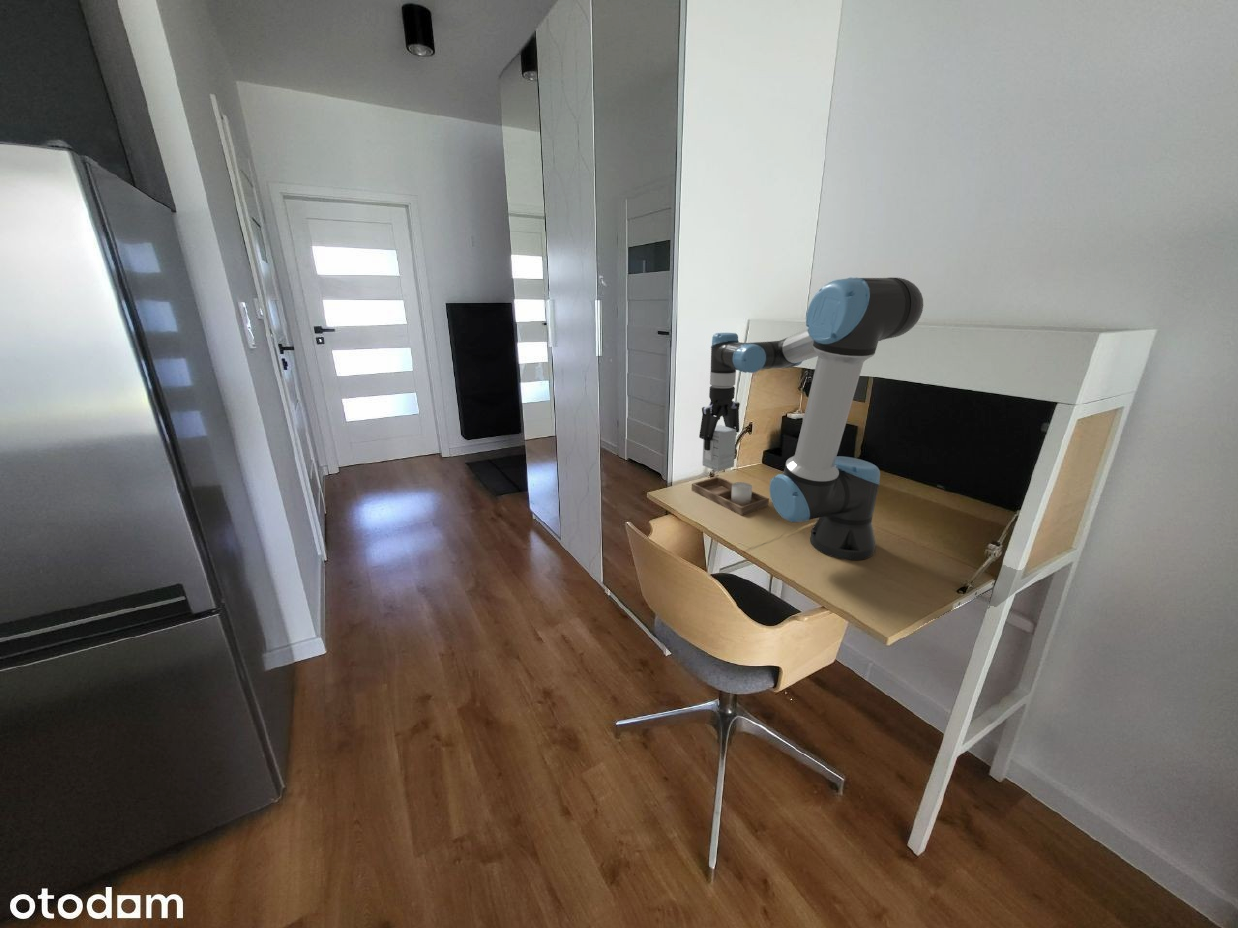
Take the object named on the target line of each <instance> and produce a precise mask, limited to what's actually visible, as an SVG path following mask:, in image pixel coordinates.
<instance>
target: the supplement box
mask: <svg viewBox="0 0 1238 928" xmlns="http://www.w3.org/2000/svg"><path fill="white" fill-rule="evenodd" d="M736 433H737V432H736V429H733V428H729V427H726V426H725V425H722V424H717V425H716V428H715V431H714V434H713V437H712V440H713V441H714V443H713V460H712V461H710V460H708V459H705V449H704V439H702V440H703V442H702V443H703V444H702V445H703V446H702V465H701V466H703V467H705V468H708V469H710V470H713V471H716V472H717V473H718V472H722V471H724V470H728V469H732V468H734V467H735V458H736V457H735V456H736V438H737V435H736ZM708 436H709V435H708Z"/></svg>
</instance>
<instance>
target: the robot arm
mask: <svg viewBox="0 0 1238 928" xmlns="http://www.w3.org/2000/svg"><path fill="white" fill-rule="evenodd" d="M807 307H808V308H807V311H806V318H805V326H806V327H808V328H806V329H804V330H802V331H799V332H797V333H795V334H792V335H790V336H788V337H786V338H783V339H779V340H774V341H773V340H772V341H757V342H740V340H739V335H738V334H737V333H736V332H716V333H714V334H713V335H712V339H711V345H710V371H709V372H710V373H709V374H710V375H709V376H710V377H709V384H710V386H709V394H708V397H709V399H710V402H709V405H708V406H702V407H701V413H702V414H701V415H702V416H701V423H700V428H699V429H700V430H699V437H698V438H699V439H701V440H703V439H704V449H705V459H708V460H710V461H712V460H713V443H714V441H713V440H712V437H713V434H714V431H715V428H716V426H717V425H718V422H719V421H720V419H721V418H723V423H724V426H726V427H729V428H733V429H736V436H737V434H738V433H739V432H740V417H739V415H740V414H739V413H740V412H739V411H740V405H741V403H740V402H738V401H733V399H735V391H736V387H735V385H736V380H737V379H736V376H737V371H740V372H742V373H749V374H750V373H751V374H754V373H757V372H759V371H760V370H768V369H780V368H781V369H782V368H786V369H789V368H794V367H798V366H800V365H801V364H802V363H803V362H804V361H807V360H810V359H813V358H816V357H817V361H816V364H815V368H814V373H813V377H812V382H811V385H810V390H809V394H808V398H807V403H806V407H805V411H804V415H803V419H802V424H801V426H800V427H801V428H800V433H799V436H798V439H797V440H798V441H797V444H796V449H795V454H794V455H793V456H790V457H789V458H788V459H787V460H786V462H785V464H784V465H785V466H784V468H783V469H784V470H783V473H778V474H776V475H775V476H774V477H772V479H771V480H770V483H769V496H770V500H771V502H772V505H773V507H774V509H775V511H776V512H777V513H778V515H779V516H780V517H782V519H784V520H785V521H788V522H791V523H797V522H799V523H800V522H807V521H810V520H814V519H817V520H816V522H815V524H814V526H812V527H813V528H812V529H811V532H810V538H809V541H810V544H811V545H812V546H813V548H815V549H816V550H818V552H821V553H823V554H825V555H827V556H829V557H832V558H837V559H840V560H846V561H847V560H848V561H861V560H866V559H869V558H871V557H872V556H873V555H874V554H875V550H876V544H877V543H876V539H875V533H874V527H873V524H872V523H873V522H872V521H873V517H874V512H875V507H876V502H877V496H878V493H879V486H880V485H881V482H880V479H881V471H880V469H879V467H878V466H877V465H875V464H873V463H872V462H869V461H866V460H863V459H860V458H855V457H850V456H842V455H841V456H840V455H839V456H837V455H838V452H839V449H840V446H841V442H842V438H843V435H844V431H845V429H846V425H847V421H848V418H849V413H850V411H851V407H852V403H853V400H854V397H855V395H856V394H855V393H856V389H857V386H858V383H859V380H860V376H861V373H862V370H863V365H864V363H865V361H867V360H868V359H870V358H872V357H874V355H875V354H876V351H877V347H878V344H879V342H882V341H884V340H889V339H894V338H897V337H900V336H902V335H904V334H906V333H908V332H909V331H911V330H912V329H913V328H914V327H915V326H916V324H917V323H918V322H919V320H920V318H921V316H922V314H923V310H924V297H923V295H922V292H921V291H920V289H919V287H918V286H917V285H915V283H913V282H912V281H911V280H908V279H906V278H902V277H848V278H841V279H835V280H834V279H833V280H832V281H829V282H827V283H826V284H824V285H823V287H821V288H820V289H818V290H817V292H816V293H815V294H814V296H813V297H812V299H811V301H810V303H809V306H807ZM708 435H709V436H708Z"/></svg>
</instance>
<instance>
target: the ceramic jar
mask: <svg viewBox="0 0 1238 928" xmlns="http://www.w3.org/2000/svg"><path fill="white" fill-rule="evenodd" d="M732 483H733V484H732V492H731V502H733V503H735V504H738V505H740V506H744V505H747V504H750V503H751V495H752V492H753V486H752V484H750V483H748V482H743V481H738V482H732Z"/></svg>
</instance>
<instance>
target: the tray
mask: <svg viewBox="0 0 1238 928" xmlns="http://www.w3.org/2000/svg"><path fill="white" fill-rule="evenodd" d="M733 483H734V482H732V481H729V480H727V479H725V478H723V477H720V476H714V477H711V478H707V479H704V480H700V481H698V482H693V483H691V491H692V492H693V493H696V494H697V495H699V496H701V497H703V498H705V499H707V500H709V501H711V502H713V503H716V504H717V505H719V506H721V507H723V508H725V509H727V510H730V511H731V512H733V513H735V514H737V515H739V516H743V515H746V514H750V513H753V512H756V511H758V510H761V509H764V508H767V507H769V502H770V498H768V497H767V496H764V495H761V494H759V493H756V492H754V491H752V495H751V503H750V504H747V505H744V506H740V505H738V504H735V503H733V502H731V492H732V484H733Z"/></svg>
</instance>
